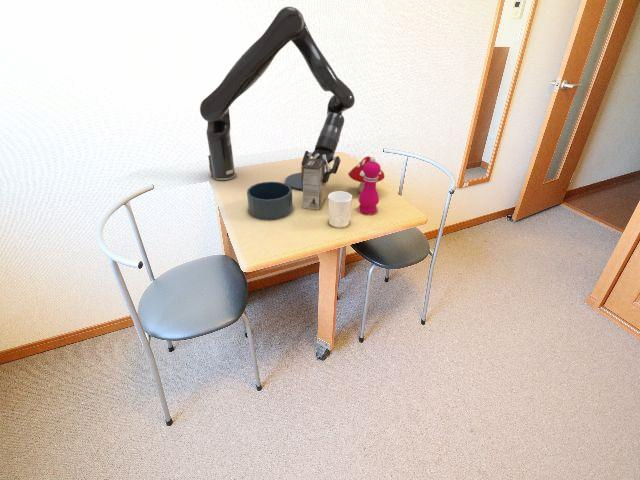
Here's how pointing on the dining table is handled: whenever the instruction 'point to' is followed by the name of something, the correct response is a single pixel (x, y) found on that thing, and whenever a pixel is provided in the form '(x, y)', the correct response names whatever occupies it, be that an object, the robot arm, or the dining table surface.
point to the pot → (269, 200)
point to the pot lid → (295, 180)
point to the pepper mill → (369, 188)
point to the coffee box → (313, 183)
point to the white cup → (339, 208)
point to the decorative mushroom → (362, 173)
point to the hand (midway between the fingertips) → (314, 180)
